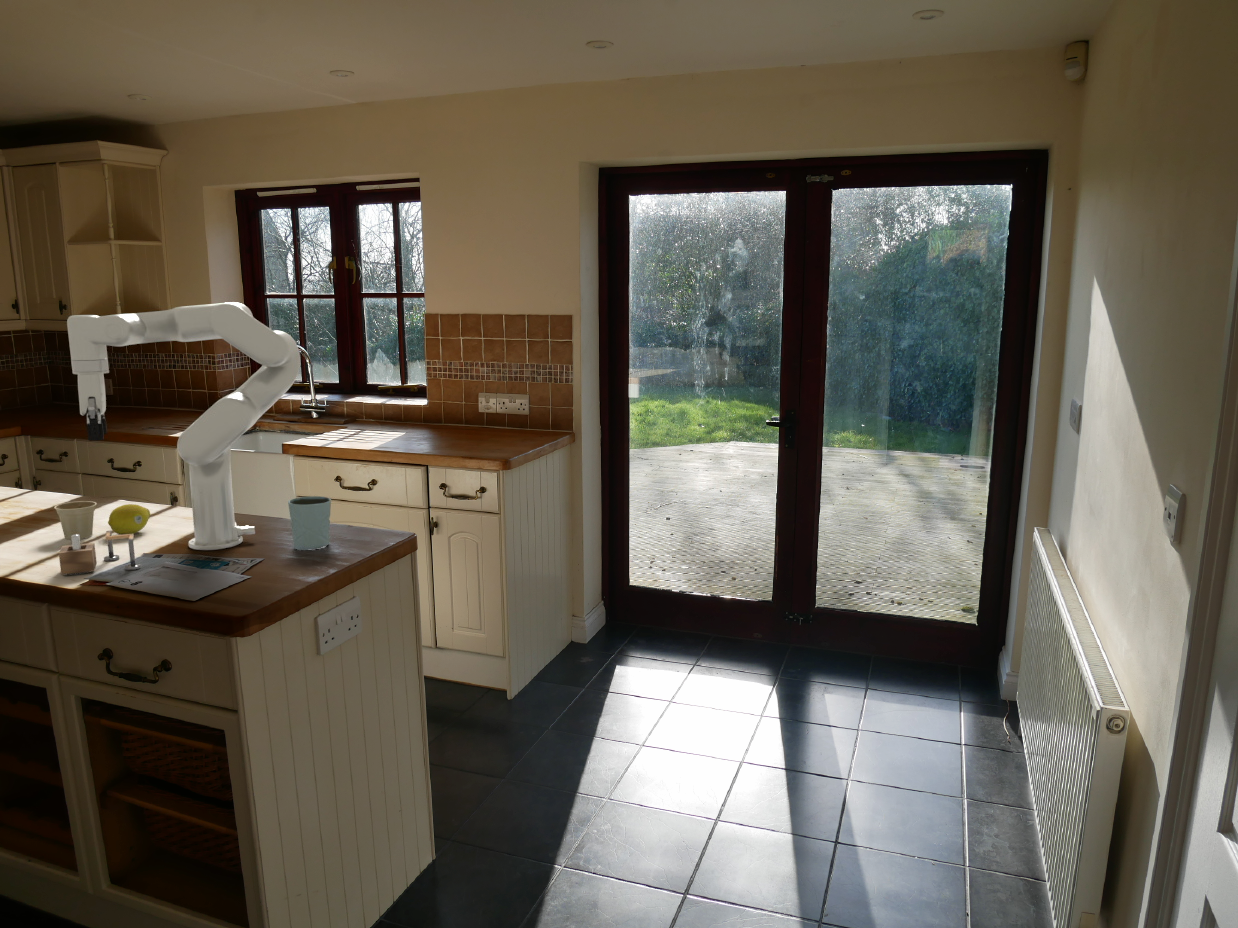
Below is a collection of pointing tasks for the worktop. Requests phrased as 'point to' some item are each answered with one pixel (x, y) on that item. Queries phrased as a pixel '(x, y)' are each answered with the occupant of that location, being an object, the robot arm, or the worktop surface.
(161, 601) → the worktop surface
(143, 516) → the lemon
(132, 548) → the buzz wire
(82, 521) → the flower pot
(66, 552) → the open wooden box
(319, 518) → the light blue cup
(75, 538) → the peg stand
